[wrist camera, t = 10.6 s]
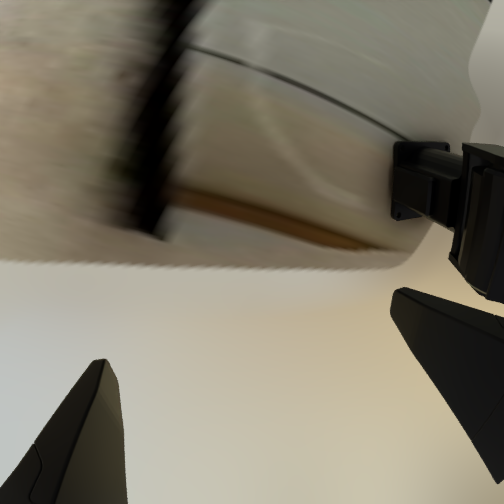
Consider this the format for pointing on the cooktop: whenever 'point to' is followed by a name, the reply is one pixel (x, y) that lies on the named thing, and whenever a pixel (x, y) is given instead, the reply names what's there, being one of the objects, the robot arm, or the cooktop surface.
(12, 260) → the cooktop surface
